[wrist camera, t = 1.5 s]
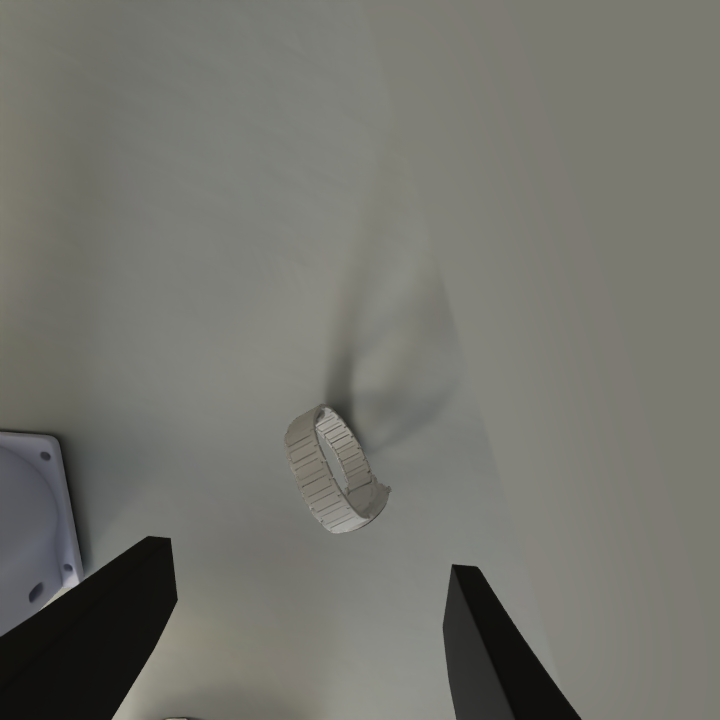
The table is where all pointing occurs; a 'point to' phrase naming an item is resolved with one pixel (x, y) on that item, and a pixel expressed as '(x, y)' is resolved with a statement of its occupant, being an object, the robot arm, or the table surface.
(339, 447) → the wristwatch
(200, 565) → the table surface
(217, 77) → the table surface
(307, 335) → the table surface
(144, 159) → the table surface
